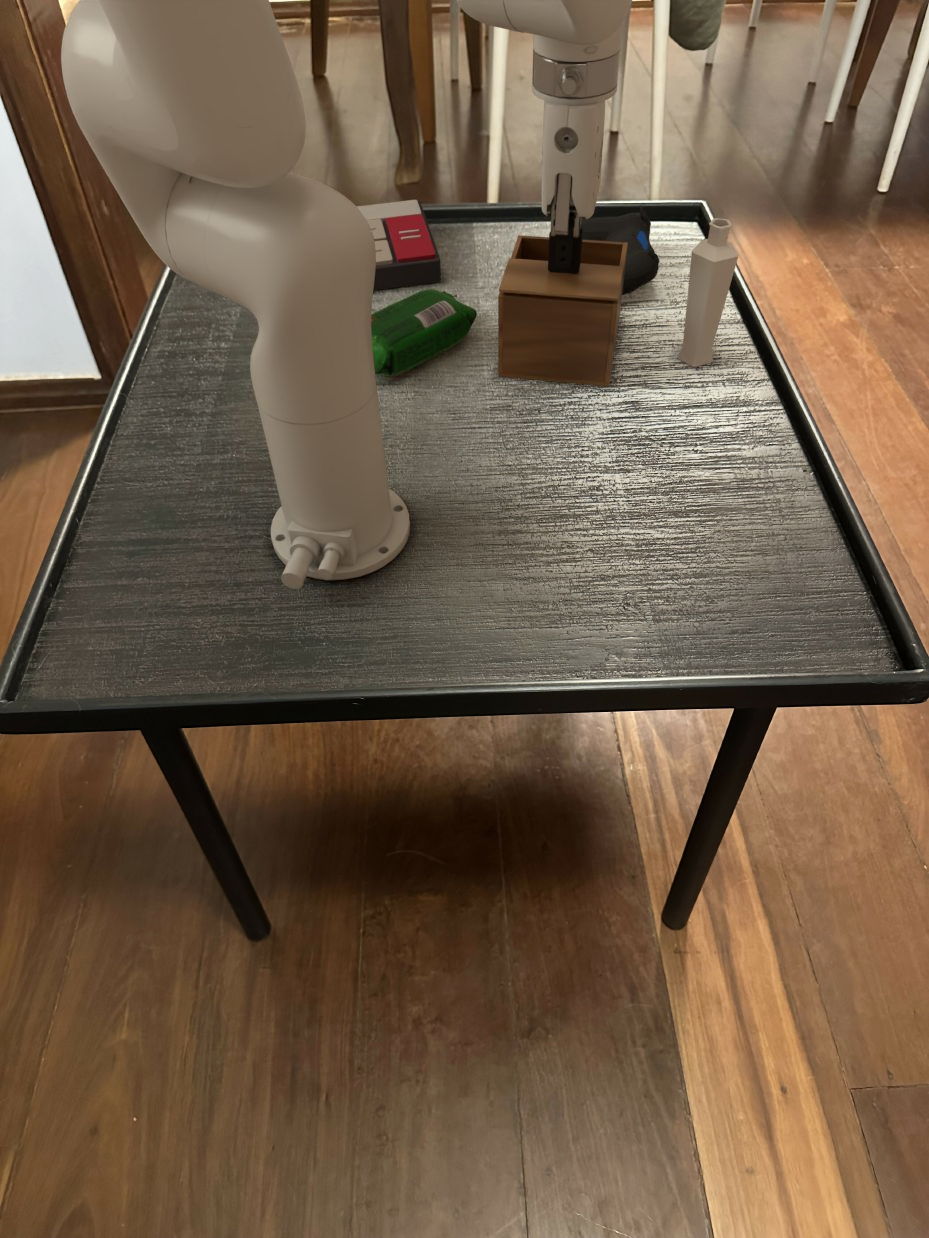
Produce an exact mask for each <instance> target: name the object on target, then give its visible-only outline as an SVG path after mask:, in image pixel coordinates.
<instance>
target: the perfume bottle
mask: <svg viewBox="0 0 929 1238" xmlns="http://www.w3.org/2000/svg"><path fill="white" fill-rule="evenodd" d="M708 224H709V229H708V230H709V231H708V236H707V238H704V239H701V240H700V241H699V242H698V243H697V244H696V245H695V247H694V248H693V249H692V250H691V255H690V265H689V276H688V287H687V298H686V307H685V308H686V309H685V319H684V320H685V321H684V329H683V339H682V345H681V346H682V347H681V348H680V350H679V352H678V355H677V357H676V358H677V359H678V360H680V361H682V362H683V363H685V364H687V365H688V366H690V367H693V368H697V367H700V366H705V365H708V364H711V363H713V362H714V355H713V346H714V343H715V340H716V336H717V332H718V329H719V325H720V323H721V319H722V315H723V311H724V308H725V304H726V301H727V297H728V295H729V290H730V288H731V283H732V280H733V277H734V273H735V270H736V266H737V263H738V259H739V255H740V254H739V253H738V251H737V250H736V247H735V245H734V244H733V243H732V242H731V241H729V240H728V239H729V233H730V228H731V227H732V226H733V225H732V223H731V221H730V220H729V219H728V218H717V217H714V218H713V219H712V220H711V221H710V222H709V223H708Z"/></svg>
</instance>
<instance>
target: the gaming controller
mask: <svg viewBox="0 0 929 1238" xmlns="http://www.w3.org/2000/svg"><path fill="white" fill-rule="evenodd" d="M639 210H640V211H639V212H629V213H626V214H622V215H618V216H606V217H590V218H589V219H586V218H582V224H581V227H580V228H582V229H583V239H582V240H596V241H611V242H623V243H624V242H626V243H628V247H627V256H626V265H625V274H624V283H623V292H622V296H625V295H628V294H631V293H633V292H635V291H637V290H638V289H639V288H641V287H643V286H645V285H647V284H649V283H650V282H652V281H653V280H654V279H655V278H656V276H657V275H658V272H659V268H660V266H659V265H660V257H659V255H658V253H656V252H655V248H654V247H653V246H652V245H651V242H650V241H651V240H650V235H651V225H652V222H651V220H650V217H648V216H647V212H646V211H645V210H644V208H643V206H642V205H639Z"/></svg>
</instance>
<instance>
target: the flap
mask: <svg viewBox="0 0 929 1238" xmlns="http://www.w3.org/2000/svg"><path fill="white" fill-rule="evenodd" d="M622 272H623V266H611V265H597V264H583V263H581V264H580V269H579V272H578V273H577V274H570V273H556V272H550V271H548V261H540V260H526V259H512V258H511V257H509V258H508V260H507V264H506V267H505V269H504V272H503V276H502V279H501V281H500V285H499V287H498V292H499V293H500V292H507V293H520V294H533V295H546V296H560V297H573V298H586V299H599V300H612V301H618V296H619V290H620V284H621V278H622Z"/></svg>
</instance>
